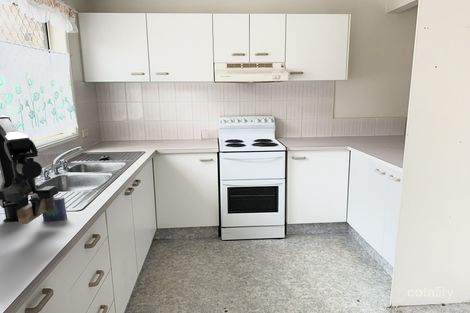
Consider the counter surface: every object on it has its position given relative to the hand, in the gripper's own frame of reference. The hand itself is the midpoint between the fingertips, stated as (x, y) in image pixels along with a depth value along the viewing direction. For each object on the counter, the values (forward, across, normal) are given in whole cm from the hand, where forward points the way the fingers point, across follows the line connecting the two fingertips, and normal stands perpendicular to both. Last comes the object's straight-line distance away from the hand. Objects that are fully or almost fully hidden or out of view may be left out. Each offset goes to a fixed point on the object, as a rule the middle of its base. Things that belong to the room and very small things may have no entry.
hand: (31, 215), depth 113 cm
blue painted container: (+8, 0, +13) cm, 15 cm away
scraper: (+1, 0, +1) cm, 2 cm away
